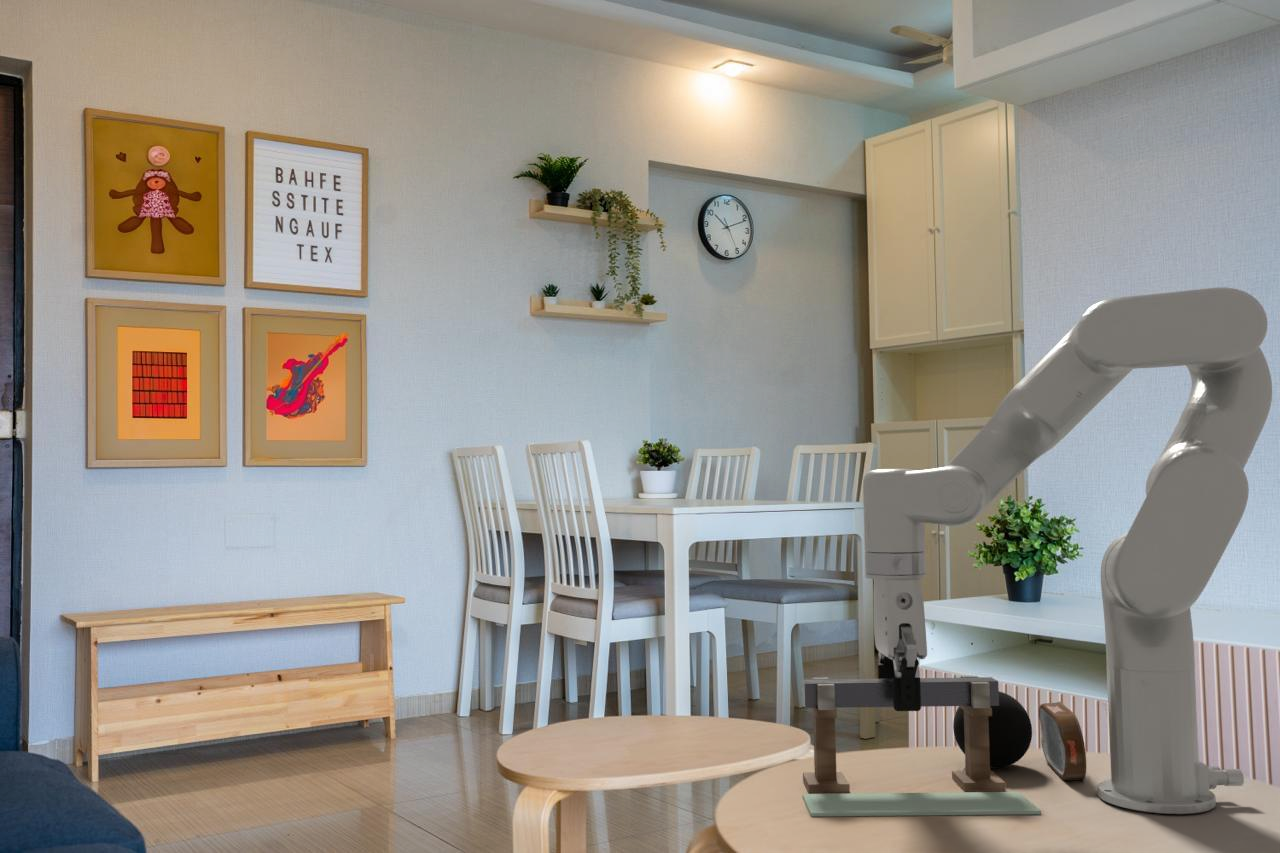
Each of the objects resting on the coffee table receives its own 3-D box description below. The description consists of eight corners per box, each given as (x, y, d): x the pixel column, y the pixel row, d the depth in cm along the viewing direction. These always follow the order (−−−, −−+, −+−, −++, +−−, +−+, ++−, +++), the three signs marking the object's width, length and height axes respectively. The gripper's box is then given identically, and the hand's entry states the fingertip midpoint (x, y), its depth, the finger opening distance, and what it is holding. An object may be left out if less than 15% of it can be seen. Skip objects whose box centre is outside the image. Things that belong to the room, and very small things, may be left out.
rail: (992, 701, 141) (991, 677, 142) (999, 705, 138) (998, 681, 139) (802, 703, 142) (801, 679, 142) (805, 707, 139) (804, 683, 139)
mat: (1019, 795, 134) (1018, 791, 134) (1041, 814, 126) (1041, 810, 126) (802, 797, 135) (802, 794, 135) (811, 816, 127) (810, 812, 127)
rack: (991, 778, 142) (987, 675, 143) (1005, 790, 136) (1001, 683, 137) (802, 780, 143) (800, 677, 144) (808, 792, 137) (806, 685, 138)
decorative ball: (1021, 758, 153) (1019, 684, 154) (1043, 776, 143) (1040, 697, 144) (947, 758, 154) (945, 684, 154) (963, 776, 144) (961, 697, 144)
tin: (1089, 787, 137) (1086, 718, 138) (1063, 787, 138) (1060, 718, 138) (1061, 758, 152) (1059, 696, 153) (1037, 758, 153) (1035, 696, 153)
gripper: (941, 570, 133) (946, 716, 132) (910, 561, 150) (913, 690, 149) (878, 571, 133) (882, 717, 132) (854, 562, 150) (857, 691, 149)
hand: (899, 703), depth 140 cm, fingers open, 9 cm apart
